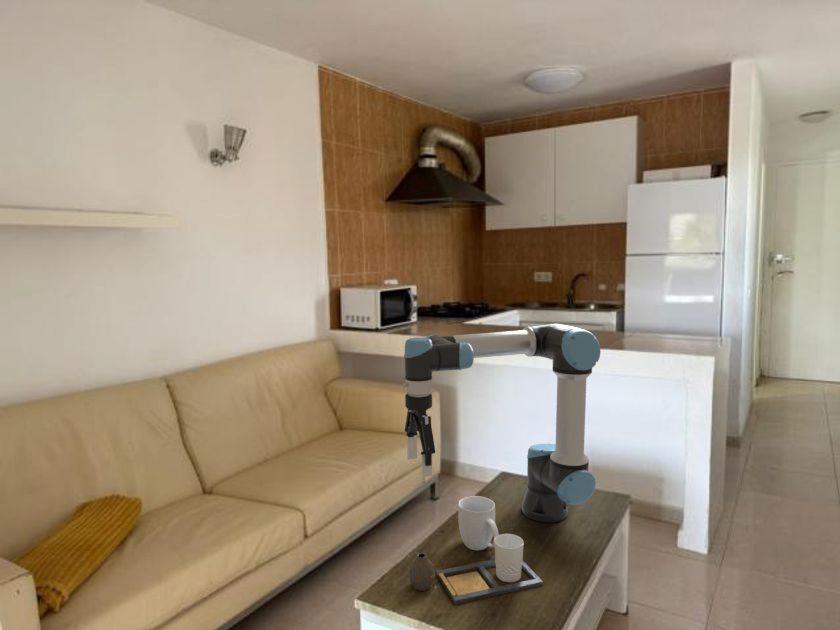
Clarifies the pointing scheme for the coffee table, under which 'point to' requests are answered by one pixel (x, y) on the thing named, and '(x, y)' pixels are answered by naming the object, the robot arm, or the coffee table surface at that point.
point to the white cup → (508, 557)
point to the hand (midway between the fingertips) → (419, 467)
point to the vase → (421, 572)
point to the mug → (477, 522)
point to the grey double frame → (480, 582)
